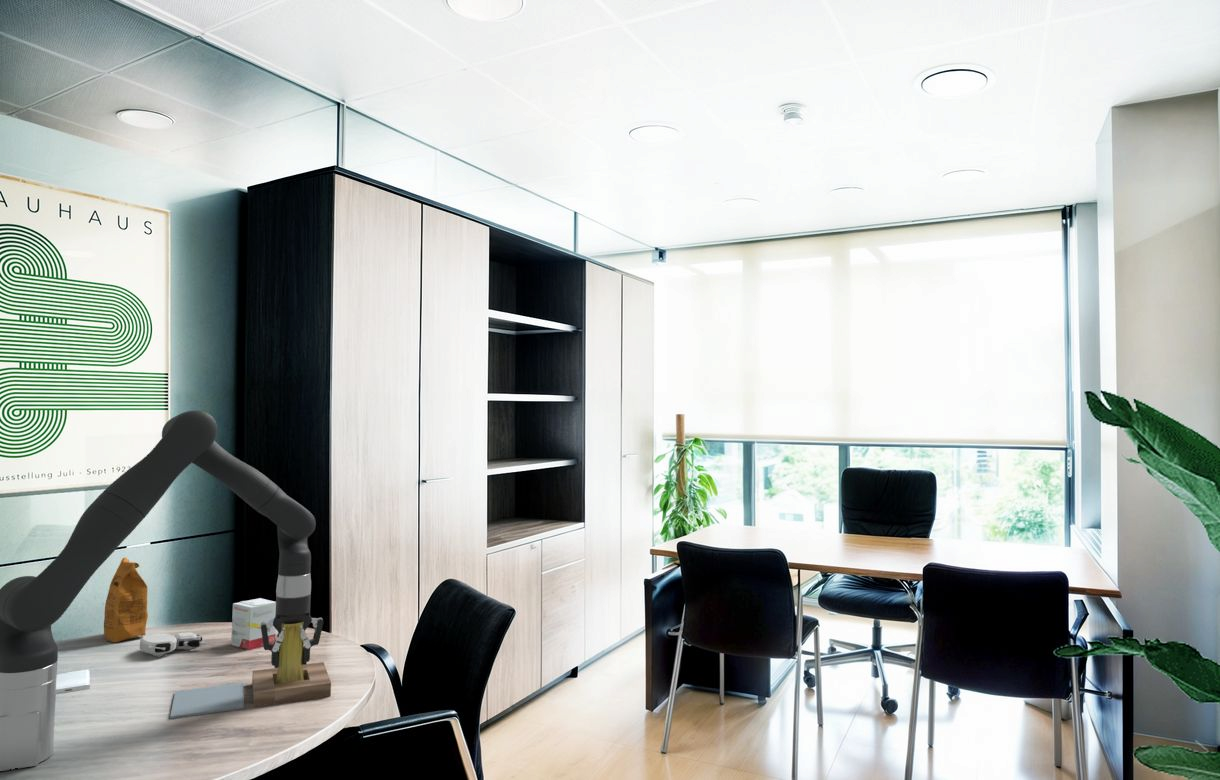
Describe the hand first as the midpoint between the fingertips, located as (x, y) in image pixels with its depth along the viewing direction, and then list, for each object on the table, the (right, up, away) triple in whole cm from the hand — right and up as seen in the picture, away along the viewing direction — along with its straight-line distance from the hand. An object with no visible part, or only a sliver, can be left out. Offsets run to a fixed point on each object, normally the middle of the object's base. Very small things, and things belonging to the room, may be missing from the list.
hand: (290, 665), depth 175 cm
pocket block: (0, -6, 0) cm, 6 cm away
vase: (0, -4, 0) cm, 4 cm away
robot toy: (-44, -7, +27) cm, 52 cm away
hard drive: (-53, -6, +1) cm, 54 cm away
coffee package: (-65, -7, +39) cm, 76 cm away
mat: (-15, -5, -8) cm, 18 cm away
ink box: (-25, -7, +34) cm, 43 cm away
